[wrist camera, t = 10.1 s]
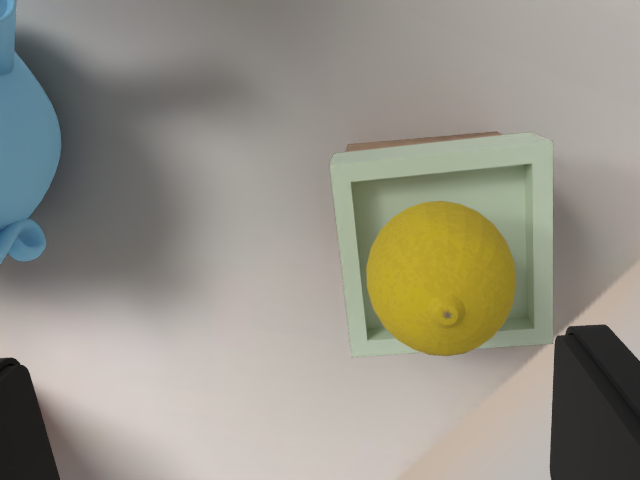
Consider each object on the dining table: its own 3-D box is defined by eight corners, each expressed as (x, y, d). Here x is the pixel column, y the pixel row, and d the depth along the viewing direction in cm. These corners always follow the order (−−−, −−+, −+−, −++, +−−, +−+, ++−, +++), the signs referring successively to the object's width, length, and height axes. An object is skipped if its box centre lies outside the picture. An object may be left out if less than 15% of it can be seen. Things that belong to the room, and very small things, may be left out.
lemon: (522, 231, 25) (577, 297, 17) (445, 325, 27) (464, 424, 19) (418, 160, 25) (427, 195, 17) (347, 259, 26) (326, 332, 19)
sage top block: (333, 153, 27) (329, 165, 24) (530, 132, 26) (552, 141, 23) (353, 326, 29) (351, 357, 26) (533, 313, 28) (553, 343, 25)
